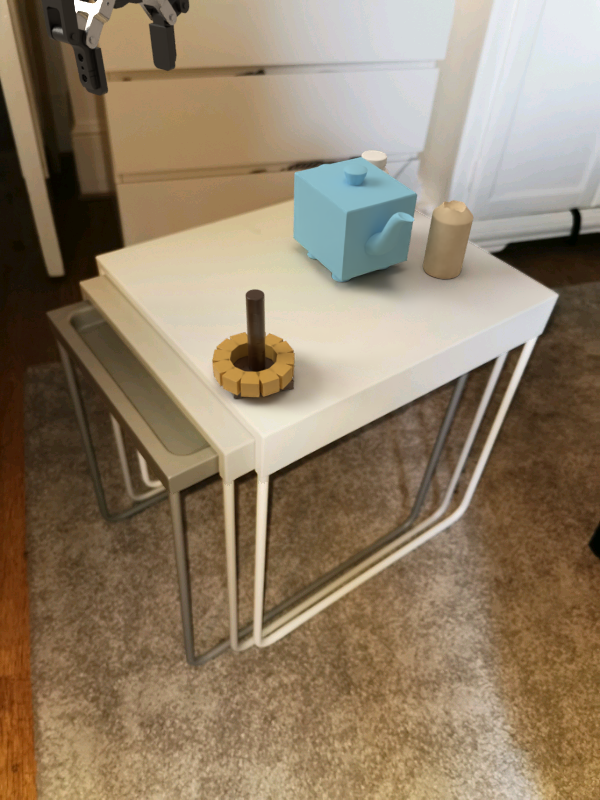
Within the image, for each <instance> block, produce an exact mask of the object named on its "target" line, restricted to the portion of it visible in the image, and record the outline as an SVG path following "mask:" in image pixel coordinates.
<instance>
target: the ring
mask: <svg viewBox="0 0 600 800" xmlns="http://www.w3.org/2000/svg"><path fill="white" fill-rule="evenodd" d="M265 352H266V357H267V358H269V359H272V360H273V362H274V364H273V365H272V366H271V367H270V368H269V369H266V370H263V371H259V372H246V371H243V370H241V369H238V368H236V367H235V366H234V365H233V363H235V362H236V361H237V360H238V359H239V358H242V357H245V356H248V342H247V331H244V332H240V333H236V334H233V335H230V336H229V338H228V337H226V338H225V339H224V340H223V341H221V342H220V343H219V344H218V345H216V349H214V351H213V355H212V359H211V362H212V373H213V377H214V378H215V380H216V382H217V383H218V385H219V386H220V387H222V389H223V390H225V391H227V392H228V393H229V392H230V393H231V394H232V393H233V394H235V395H238V394H239V393H240V392H241V396H242V398H260V396H262V397H267V396H270V395H274V394H276V393H279V392H280V391H279V388H280V389H284V387H285V386H286V385H287V384H288V383H289V382H290V381H291V380H292V378H294V376H295V375H294V374H295V360H296V359H295V358H296V357H295V355H296V353H295V351H294V348H293V347H292V346H291V345H290V344H289V342H288V341H287V340H284V338H282V337H280V336H277V335H274V334H273V333H270V332H269V333H268V334H267V332H266V331H265ZM260 393H261V394H260ZM233 394H232V395H233Z"/></svg>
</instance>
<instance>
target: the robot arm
mask: <svg viewBox="0 0 600 800" xmlns="http://www.w3.org/2000/svg"><path fill="white" fill-rule="evenodd" d="M93 2H94V3H91V2H90V0H41V6H42V11H43V17H44V22H45V28H46V33H47V34H46V35H47V36H48V38H49V39H50V40H53V41H57V42H60V43H65V44H68V45H70V46H71V47H72V50H73V54H74V59H75V64H76V68H77V73H78V79H79V82H80V84H81V86H82V87H83V88H85V90H86V92H88V93H90V94H93V95H95V96H104V95H107V94H108V93H109V87H108V80H107V74H106V69H105V63H104V57H103V51H102V47H99V46H98V44H99V41H100V39H101V34H102V31H103V28H104V25H105V24H106V23H108V22H109V21H110V20H111V16H112V13H113V10H117V9H121V8H124V7H125V6H127V5H128V4H135V5H139V6H140V7H141V8H142V10H143V11H144V13H145V14H146V16H147V17H148V18H149V20H150V21H152V22H150V23H148V29H149V37H150V46H151V53H152V62H153V65H154V67H155V68H156V69H159V70H161V71H162V70H163V71H166V72H169V71H172V70H174V69H175V68H176V62H177V55H178V54H177V46H176V45H177V44H176V36H175V35H176V34H175V25H176V23H177V21H178V17H179V16H180V15H181V14H187V13H188V12H189V11H190V0H93Z"/></svg>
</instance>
